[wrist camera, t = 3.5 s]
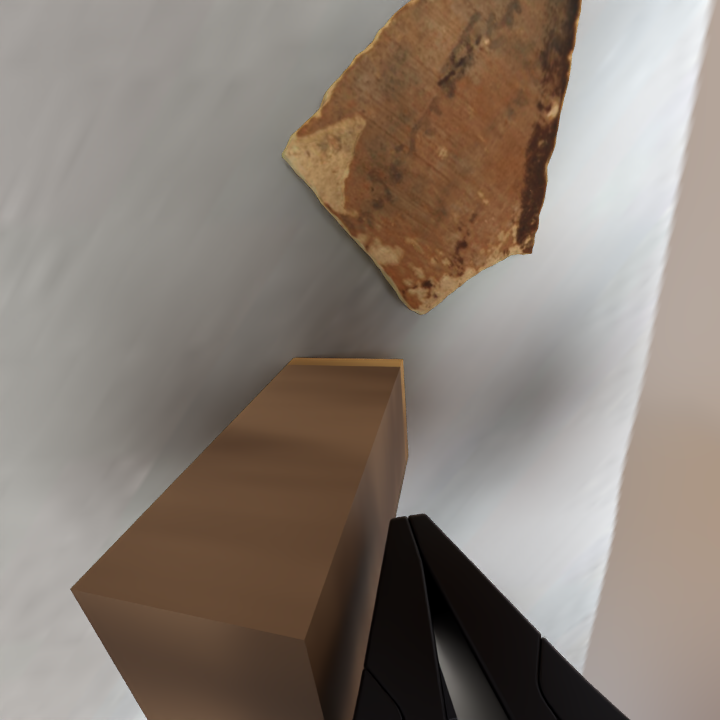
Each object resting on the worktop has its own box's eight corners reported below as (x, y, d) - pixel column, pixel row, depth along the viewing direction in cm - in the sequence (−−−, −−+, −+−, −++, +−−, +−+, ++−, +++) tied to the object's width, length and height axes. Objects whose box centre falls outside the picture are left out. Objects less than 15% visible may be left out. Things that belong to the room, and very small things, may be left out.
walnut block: (408, 455, 15) (339, 783, 7) (309, 447, 16) (149, 723, 8) (403, 359, 13) (304, 640, 5) (293, 357, 14) (69, 589, 6)
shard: (576, -162, 10) (629, -234, 8) (681, 108, 13) (736, 95, 11) (274, 150, 12) (268, 143, 10) (421, 324, 15) (435, 340, 13)
